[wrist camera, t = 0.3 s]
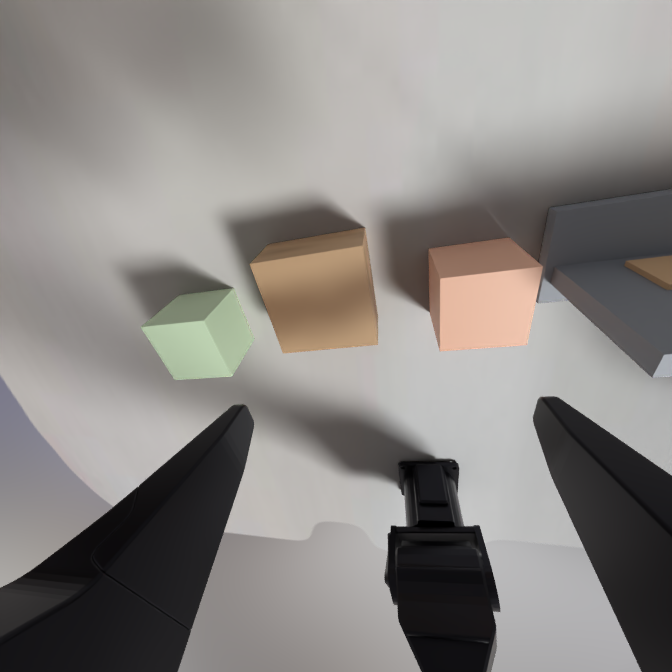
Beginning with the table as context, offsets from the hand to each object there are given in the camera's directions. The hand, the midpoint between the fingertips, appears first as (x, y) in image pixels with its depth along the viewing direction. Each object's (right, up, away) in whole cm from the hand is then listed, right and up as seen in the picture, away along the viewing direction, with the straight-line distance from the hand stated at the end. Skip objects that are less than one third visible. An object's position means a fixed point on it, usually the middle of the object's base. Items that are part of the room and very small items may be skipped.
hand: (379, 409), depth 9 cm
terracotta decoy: (+8, +6, +12) cm, 16 cm away
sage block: (-12, +4, +16) cm, 20 cm away
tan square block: (-2, +7, +13) cm, 15 cm away
